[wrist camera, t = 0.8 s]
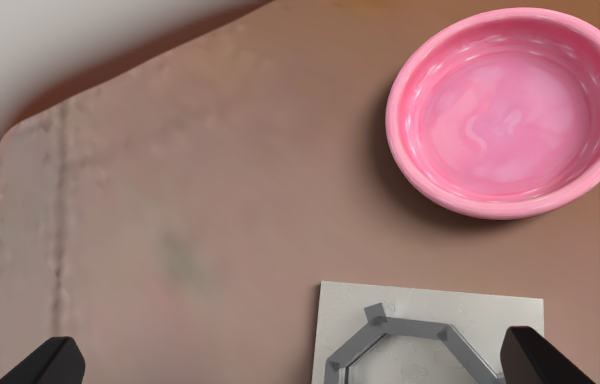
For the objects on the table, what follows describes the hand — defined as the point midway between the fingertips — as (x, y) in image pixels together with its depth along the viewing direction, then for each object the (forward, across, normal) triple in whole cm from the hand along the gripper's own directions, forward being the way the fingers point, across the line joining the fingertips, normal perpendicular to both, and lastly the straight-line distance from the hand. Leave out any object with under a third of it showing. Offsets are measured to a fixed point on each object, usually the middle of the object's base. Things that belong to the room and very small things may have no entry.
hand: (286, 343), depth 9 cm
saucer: (+19, -12, +5) cm, 23 cm away
